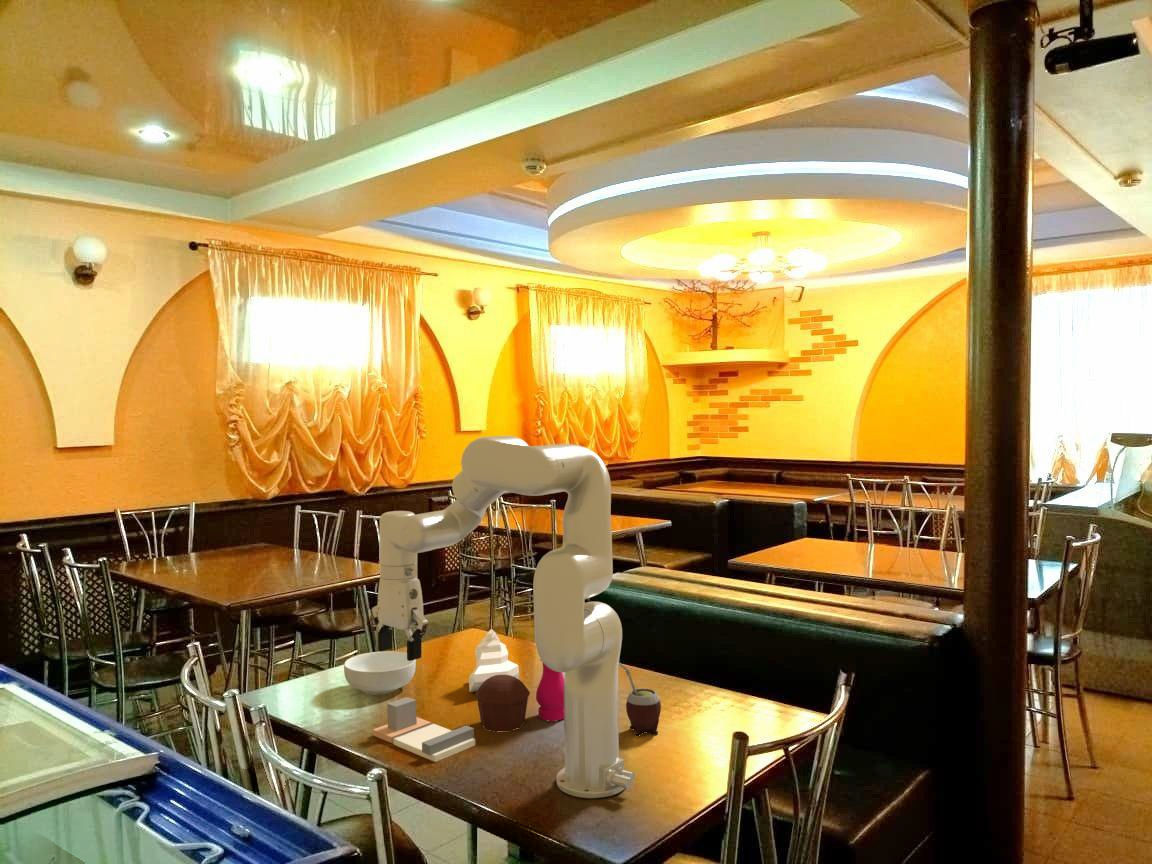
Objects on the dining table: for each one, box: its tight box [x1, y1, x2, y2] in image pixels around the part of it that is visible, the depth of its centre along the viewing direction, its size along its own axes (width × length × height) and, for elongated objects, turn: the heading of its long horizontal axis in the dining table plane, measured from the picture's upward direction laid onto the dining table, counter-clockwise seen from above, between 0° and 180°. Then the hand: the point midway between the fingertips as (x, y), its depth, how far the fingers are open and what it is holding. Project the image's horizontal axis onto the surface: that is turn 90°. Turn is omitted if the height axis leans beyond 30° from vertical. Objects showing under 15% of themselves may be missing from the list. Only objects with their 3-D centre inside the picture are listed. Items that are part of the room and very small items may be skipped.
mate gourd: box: [619, 662, 662, 737], centre depth 166 cm, size 8×8×15 cm
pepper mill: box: [535, 658, 565, 722], centre depth 175 cm, size 7×7×20 cm
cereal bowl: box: [343, 650, 417, 696], centre depth 194 cm, size 17×17×7 cm
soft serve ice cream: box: [468, 628, 520, 693], centre depth 196 cm, size 12×15×14 cm
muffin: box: [474, 675, 531, 733], centre depth 171 cm, size 12×11×10 cm
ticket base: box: [392, 722, 476, 763], centre depth 161 cm, size 13×11×3 cm
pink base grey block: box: [372, 696, 432, 744], centre depth 168 cm, size 6×10×6 cm, turn 139°
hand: (399, 654), depth 168 cm, fingers open, 9 cm apart
